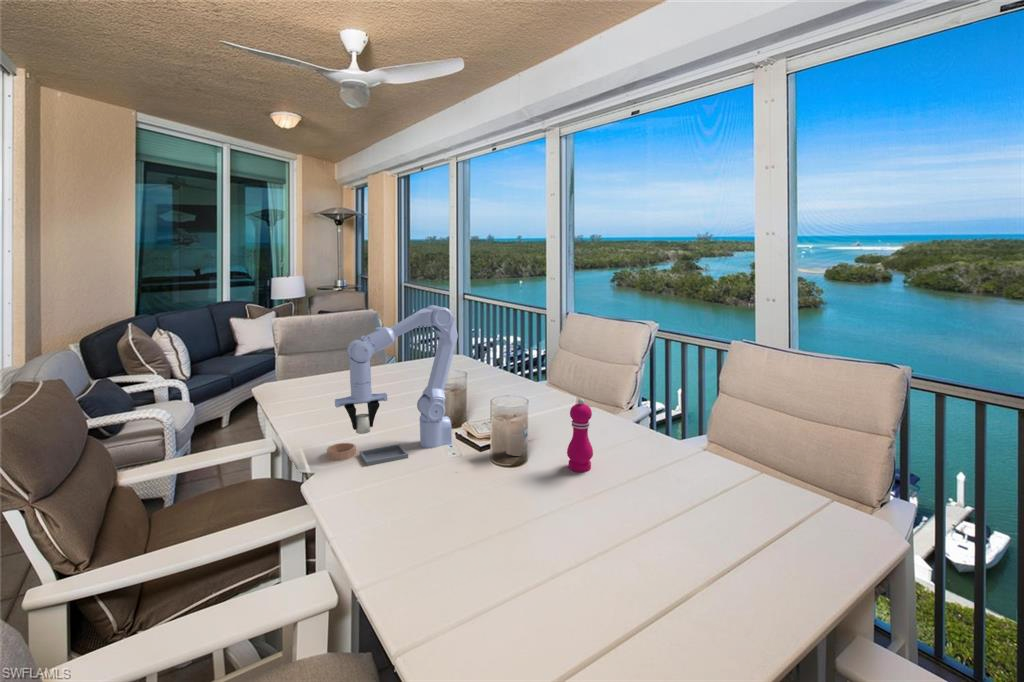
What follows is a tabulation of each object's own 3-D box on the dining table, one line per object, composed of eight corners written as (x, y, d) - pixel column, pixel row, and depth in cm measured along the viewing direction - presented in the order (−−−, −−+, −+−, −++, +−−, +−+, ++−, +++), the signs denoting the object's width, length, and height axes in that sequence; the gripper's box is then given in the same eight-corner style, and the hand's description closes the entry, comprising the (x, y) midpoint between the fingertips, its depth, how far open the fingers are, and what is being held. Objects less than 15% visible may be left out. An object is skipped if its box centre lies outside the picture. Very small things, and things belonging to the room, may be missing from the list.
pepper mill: (595, 464, 139) (597, 396, 136) (588, 474, 132) (590, 403, 129) (571, 460, 142) (572, 394, 139) (563, 470, 135) (564, 400, 132)
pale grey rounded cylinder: (368, 428, 145) (367, 412, 144) (371, 432, 141) (371, 416, 141) (354, 430, 143) (353, 414, 142) (357, 434, 139) (357, 418, 139)
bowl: (352, 450, 150) (352, 441, 149) (358, 459, 143) (357, 449, 142) (325, 455, 146) (325, 445, 145) (330, 464, 139) (329, 454, 138)
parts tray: (399, 450, 150) (399, 444, 149) (408, 460, 142) (408, 453, 142) (359, 457, 144) (359, 451, 144) (366, 468, 136) (366, 462, 136)
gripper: (382, 376, 147) (383, 419, 149) (331, 382, 140) (334, 427, 142) (388, 381, 141) (390, 426, 143) (336, 387, 134) (338, 434, 136)
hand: (362, 427), depth 142 cm, fingers closed on pale grey rounded cylinder, 4 cm apart
